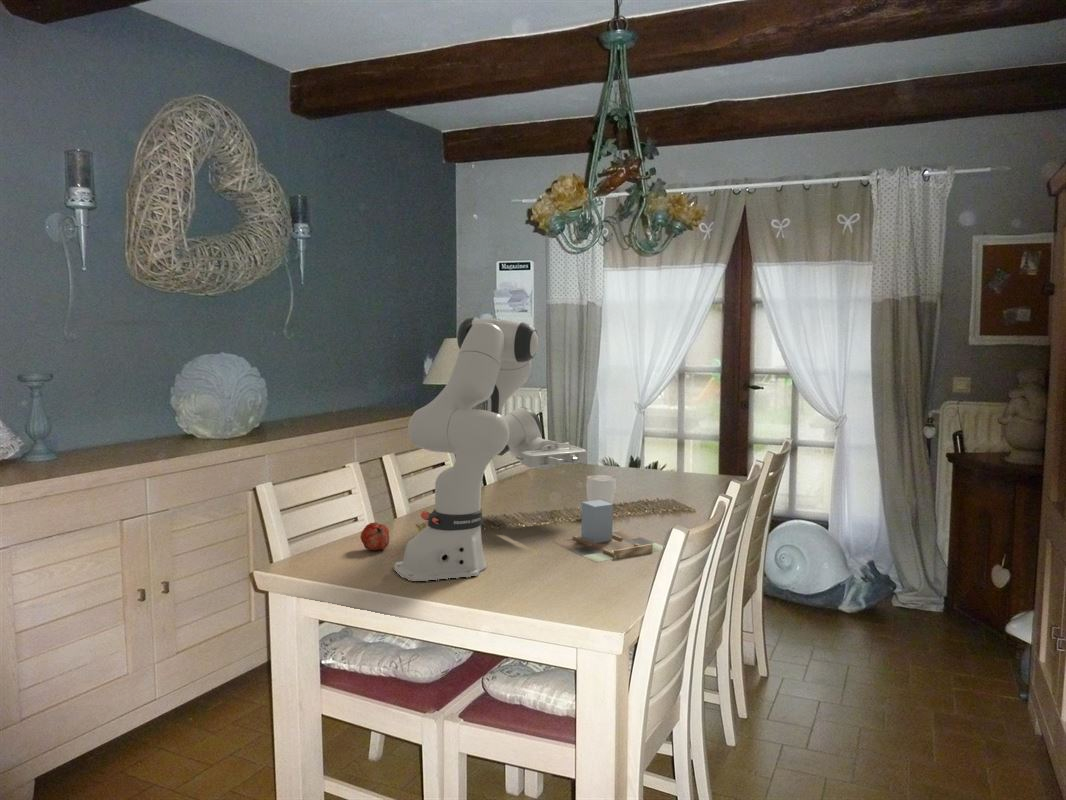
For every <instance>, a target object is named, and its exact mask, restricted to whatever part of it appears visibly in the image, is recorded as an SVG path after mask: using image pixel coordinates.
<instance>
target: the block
mask: <svg viewBox="0 0 1066 800" xmlns="http://www.w3.org/2000/svg"><path fill="white" fill-rule="evenodd" d="M613 507H614V503H613V504H610V503H608V502H605V501H602V500H595V501H588V500H587V501H582V502H581V534H580V537H581V538H583V539H585V540H587V541H590V542H592V543H599V542H606V541H612V532H613V517H614V515H613V514H614V513H613V512H614V511H613V509H614V508H613Z"/></svg>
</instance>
